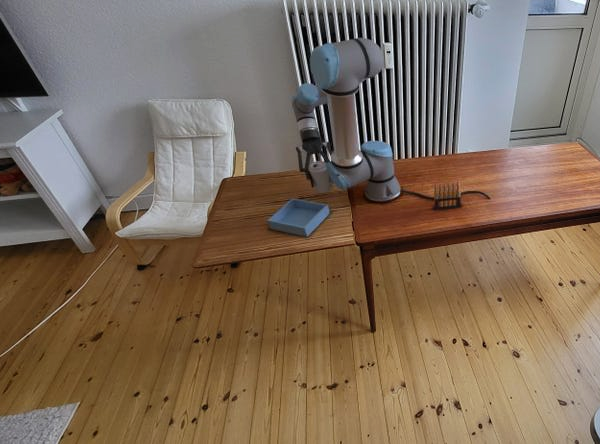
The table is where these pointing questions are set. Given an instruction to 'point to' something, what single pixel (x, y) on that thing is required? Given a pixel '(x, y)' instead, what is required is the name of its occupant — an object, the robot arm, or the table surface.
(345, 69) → the robot arm
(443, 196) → the ammunition clip
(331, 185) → the can
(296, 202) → the tray
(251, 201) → the table surface
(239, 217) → the table surface
